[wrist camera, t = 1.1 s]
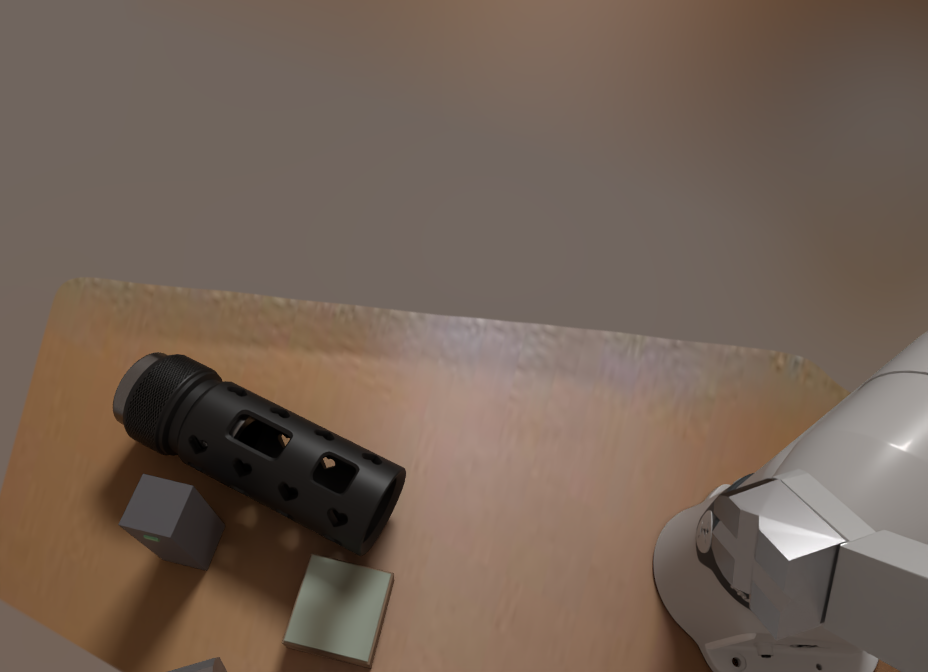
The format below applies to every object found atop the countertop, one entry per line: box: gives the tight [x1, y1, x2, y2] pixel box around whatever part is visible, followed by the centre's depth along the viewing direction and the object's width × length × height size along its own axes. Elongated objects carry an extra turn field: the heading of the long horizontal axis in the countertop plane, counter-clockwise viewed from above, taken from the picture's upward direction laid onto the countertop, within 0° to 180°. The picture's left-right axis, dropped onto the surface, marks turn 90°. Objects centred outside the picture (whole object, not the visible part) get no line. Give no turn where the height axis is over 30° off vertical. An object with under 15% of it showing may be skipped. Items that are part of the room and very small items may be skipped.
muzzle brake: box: [113, 352, 406, 556], centre depth 68 cm, size 10×28×10 cm, turn 64°
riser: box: [282, 553, 394, 669], centre depth 64 cm, size 8×8×4 cm
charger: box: [118, 474, 225, 571], centre depth 63 cm, size 4×5×12 cm
